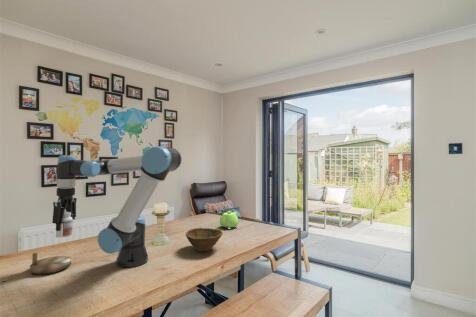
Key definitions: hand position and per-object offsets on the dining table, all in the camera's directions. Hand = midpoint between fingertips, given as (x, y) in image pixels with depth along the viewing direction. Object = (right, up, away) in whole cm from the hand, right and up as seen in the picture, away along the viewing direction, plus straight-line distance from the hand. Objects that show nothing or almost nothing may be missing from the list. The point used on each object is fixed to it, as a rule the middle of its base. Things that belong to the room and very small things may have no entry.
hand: (64, 234), depth 129 cm
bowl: (+64, -17, +29) cm, 73 cm away
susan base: (-5, -15, -2) cm, 16 cm away
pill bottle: (0, -1, 0) cm, 1 cm away
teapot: (+77, -17, +79) cm, 112 cm away
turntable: (-5, -14, -2) cm, 15 cm away
